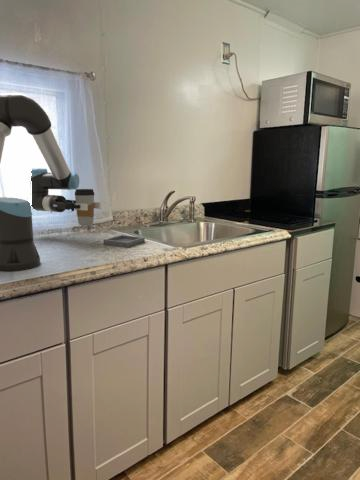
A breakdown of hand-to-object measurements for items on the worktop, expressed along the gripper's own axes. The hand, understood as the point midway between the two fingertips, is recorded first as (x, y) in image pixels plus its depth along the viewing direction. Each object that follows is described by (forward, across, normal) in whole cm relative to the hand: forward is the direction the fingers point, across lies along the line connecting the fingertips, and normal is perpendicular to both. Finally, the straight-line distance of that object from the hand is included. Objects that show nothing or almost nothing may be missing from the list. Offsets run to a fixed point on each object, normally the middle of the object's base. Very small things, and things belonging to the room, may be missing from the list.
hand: (93, 206), depth 158 cm
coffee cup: (-5, 0, -8) cm, 10 cm away
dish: (+8, -10, -17) cm, 21 cm away
